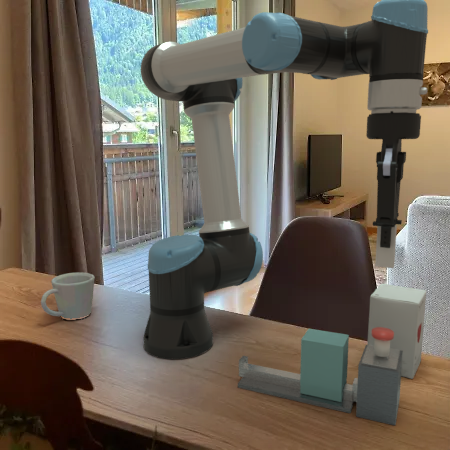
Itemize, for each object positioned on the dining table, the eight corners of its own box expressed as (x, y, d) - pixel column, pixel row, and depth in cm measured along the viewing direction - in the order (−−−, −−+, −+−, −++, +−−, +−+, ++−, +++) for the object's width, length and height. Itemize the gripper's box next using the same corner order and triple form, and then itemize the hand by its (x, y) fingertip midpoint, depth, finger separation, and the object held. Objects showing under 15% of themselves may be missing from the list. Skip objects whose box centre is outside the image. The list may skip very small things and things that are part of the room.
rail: (233, 386, 85) (233, 366, 84) (247, 369, 91) (247, 350, 90) (355, 414, 76) (356, 392, 75) (361, 393, 82) (362, 372, 81)
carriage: (300, 393, 80) (301, 339, 79) (307, 380, 85) (308, 328, 83) (341, 402, 78) (343, 346, 76) (346, 388, 82) (348, 334, 80)
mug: (105, 312, 121) (103, 275, 119) (57, 333, 109) (54, 292, 107) (78, 305, 127) (75, 270, 125) (29, 324, 114) (26, 285, 112)
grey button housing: (356, 416, 75) (358, 363, 74) (363, 392, 82) (365, 342, 81) (395, 425, 73) (398, 370, 71) (399, 399, 80) (402, 349, 78)
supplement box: (413, 380, 86) (419, 303, 84) (365, 368, 91) (368, 295, 88) (422, 360, 94) (427, 289, 91) (377, 350, 99) (380, 282, 96)
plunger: (369, 355, 75) (370, 333, 74) (372, 347, 78) (373, 325, 77) (391, 359, 74) (392, 337, 73) (393, 350, 77) (394, 329, 76)
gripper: (419, 109, 62) (407, 280, 66) (423, 113, 73) (412, 258, 78) (361, 111, 65) (353, 274, 69) (373, 114, 76) (366, 254, 81)
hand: (384, 265), depth 73 cm, fingers closed
